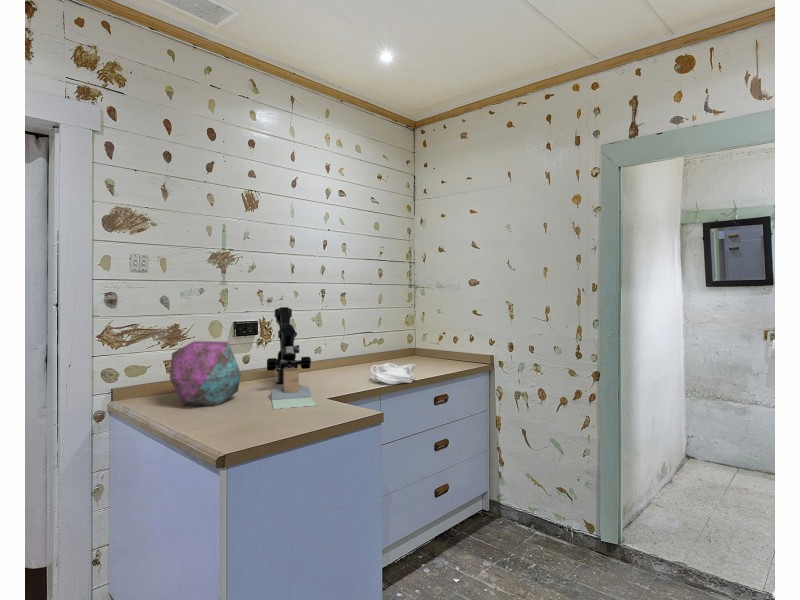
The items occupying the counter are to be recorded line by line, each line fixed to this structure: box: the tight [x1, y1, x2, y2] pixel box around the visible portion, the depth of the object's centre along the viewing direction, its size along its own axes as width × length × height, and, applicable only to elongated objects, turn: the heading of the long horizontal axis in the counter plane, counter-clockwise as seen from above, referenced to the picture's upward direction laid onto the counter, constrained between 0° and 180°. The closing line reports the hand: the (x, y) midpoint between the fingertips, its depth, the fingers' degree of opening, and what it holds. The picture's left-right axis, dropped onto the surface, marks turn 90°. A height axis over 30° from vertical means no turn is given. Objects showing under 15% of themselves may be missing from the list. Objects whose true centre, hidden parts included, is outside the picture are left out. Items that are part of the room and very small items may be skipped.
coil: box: [369, 362, 417, 385], centre depth 239 cm, size 25×24×9 cm
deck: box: [270, 386, 312, 401], centre depth 204 cm, size 9×16×3 cm, turn 108°
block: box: [282, 368, 300, 393], centre depth 203 cm, size 6×6×9 cm
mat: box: [271, 396, 316, 410], centre depth 193 cm, size 14×16×1 cm
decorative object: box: [169, 340, 242, 407], centre depth 194 cm, size 30×30×30 cm
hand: (290, 379), depth 206 cm, fingers closed
